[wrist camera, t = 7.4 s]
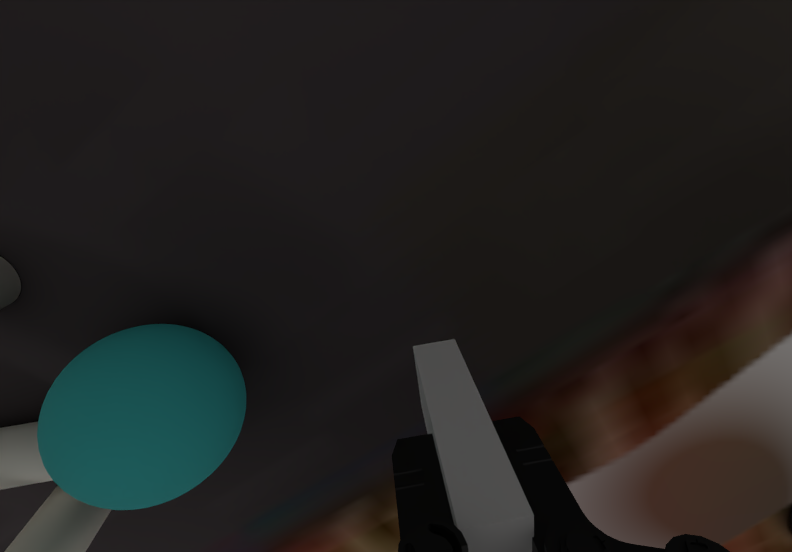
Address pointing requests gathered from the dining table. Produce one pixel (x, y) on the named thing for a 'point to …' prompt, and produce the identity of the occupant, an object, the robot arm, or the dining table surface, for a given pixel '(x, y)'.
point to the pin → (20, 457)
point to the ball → (141, 416)
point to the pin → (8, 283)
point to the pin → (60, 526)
